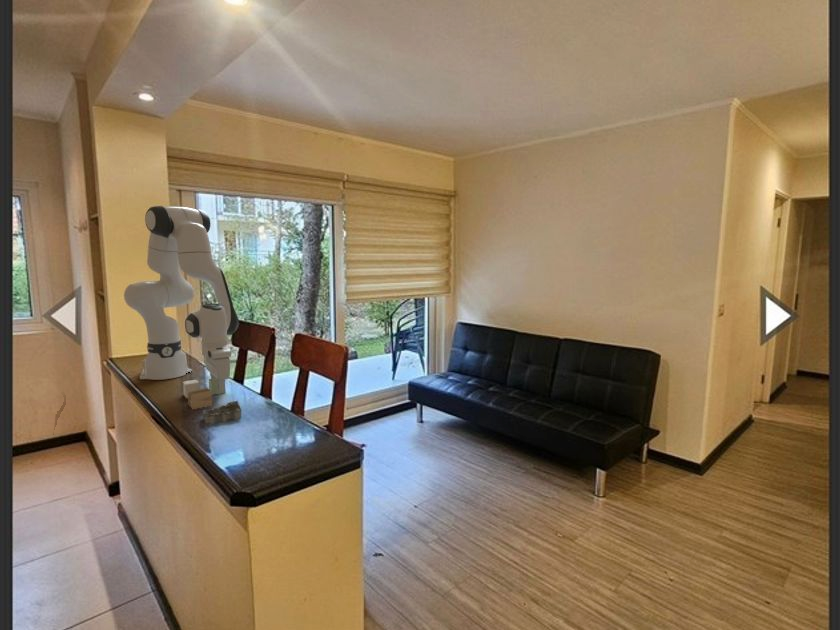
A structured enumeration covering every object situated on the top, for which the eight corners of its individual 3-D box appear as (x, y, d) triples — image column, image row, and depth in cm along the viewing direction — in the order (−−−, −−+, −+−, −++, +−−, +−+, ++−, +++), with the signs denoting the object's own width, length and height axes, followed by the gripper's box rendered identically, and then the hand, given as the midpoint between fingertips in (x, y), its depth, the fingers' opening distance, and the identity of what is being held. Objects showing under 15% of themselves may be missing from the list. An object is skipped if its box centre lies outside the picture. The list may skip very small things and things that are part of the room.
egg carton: (239, 412, 143) (239, 400, 143) (242, 420, 137) (242, 407, 136) (202, 417, 138) (202, 404, 138) (204, 425, 132) (203, 412, 131)
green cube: (209, 392, 162) (208, 379, 162) (222, 390, 165) (221, 377, 164) (212, 395, 159) (211, 382, 158) (225, 393, 161) (224, 379, 161)
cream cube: (183, 395, 159) (182, 381, 158) (197, 392, 162) (196, 379, 161) (186, 398, 155) (185, 384, 155) (200, 396, 158) (199, 382, 157)
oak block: (188, 405, 149) (187, 390, 148) (207, 401, 152) (206, 387, 152) (192, 410, 144) (191, 395, 143) (212, 406, 148) (211, 391, 147)
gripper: (199, 345, 166) (201, 381, 168) (213, 355, 150) (215, 395, 152) (217, 343, 170) (219, 378, 171) (232, 352, 154) (234, 391, 155)
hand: (217, 386), depth 161 cm, fingers open, 8 cm apart
